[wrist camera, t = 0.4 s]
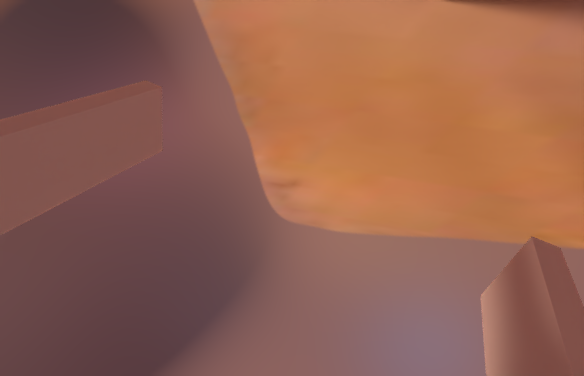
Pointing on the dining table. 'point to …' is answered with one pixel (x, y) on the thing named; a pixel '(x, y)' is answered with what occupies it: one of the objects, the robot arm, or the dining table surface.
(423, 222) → the dining table surface
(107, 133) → the robot arm
